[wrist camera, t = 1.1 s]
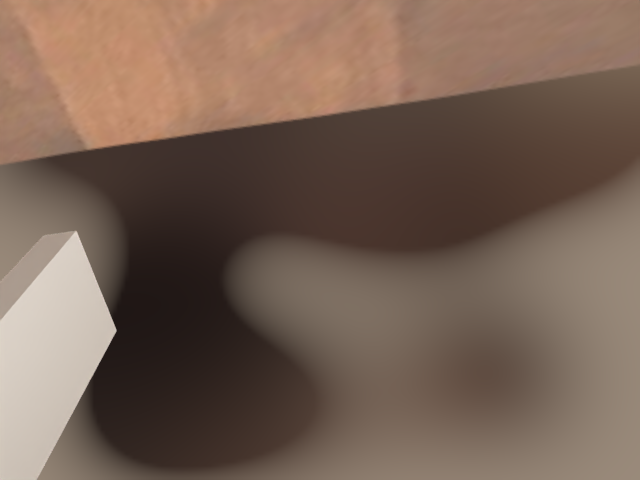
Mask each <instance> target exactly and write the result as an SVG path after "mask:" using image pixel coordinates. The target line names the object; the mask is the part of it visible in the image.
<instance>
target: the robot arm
mask: <svg viewBox="0 0 640 480" xmlns="http://www.w3.org/2000/svg"><path fill="white" fill-rule="evenodd" d="M115 332H116V328H115V326H114V323H113V321H112V318H111V316H110V313H109V311H108V308H107V306H106V303H105V301H104V298H103V296H102V294H101V291H100V288H99V286H98V283H97V281H96V278H95V276H94V274H93V271H92V269H91V266H90V264H89V261H88V259H87V256H86V254H85V251H84V249H83V247H82V244H81V241H80V239H79V236H78V234H77V231H71V232H64V233H57V234H50V235H44V236H42V238H41V239H40V240H39V241H38V242H37V243H36V244H35V245H34V246H33V247H32V248H31V249H30V250H29V251H28V253H27V254H26V255H25V256H24V257H23V258H22V259H21V260H20V261H19V262H18V263H17V264H16V265H15V266H14V268H13V269H12V270H11V271H10V272H9V273H8V274H7V275H6V276H5V277H4V278H3V279H2V280H1V281H0V480H37V478H38V476H39V474H40V472H41V470H42V469H43V467H44V465H45V463H46V461H47V459H48V457H49V455H50V454H51V452H52V450H53V448H54V446H55V444H56V442H57V441H58V439H59V437H60V435H61V433H62V431H63V429H64V427H65V426H66V424H67V422H68V420H69V418H70V416H71V415H72V413H73V411H74V409H75V407H76V405H77V403H78V401H79V400H80V398H81V396H82V394H83V392H84V390H85V388H86V386H87V384H88V383H89V381H90V379H91V377H92V375H93V373H94V372H95V370H96V368H97V366H98V364H99V362H100V360H101V359H102V357H103V355H104V353H105V351H106V349H107V347H108V346H109V344H110V342H111V340H112V338H113V336H114V334H115Z"/></svg>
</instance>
